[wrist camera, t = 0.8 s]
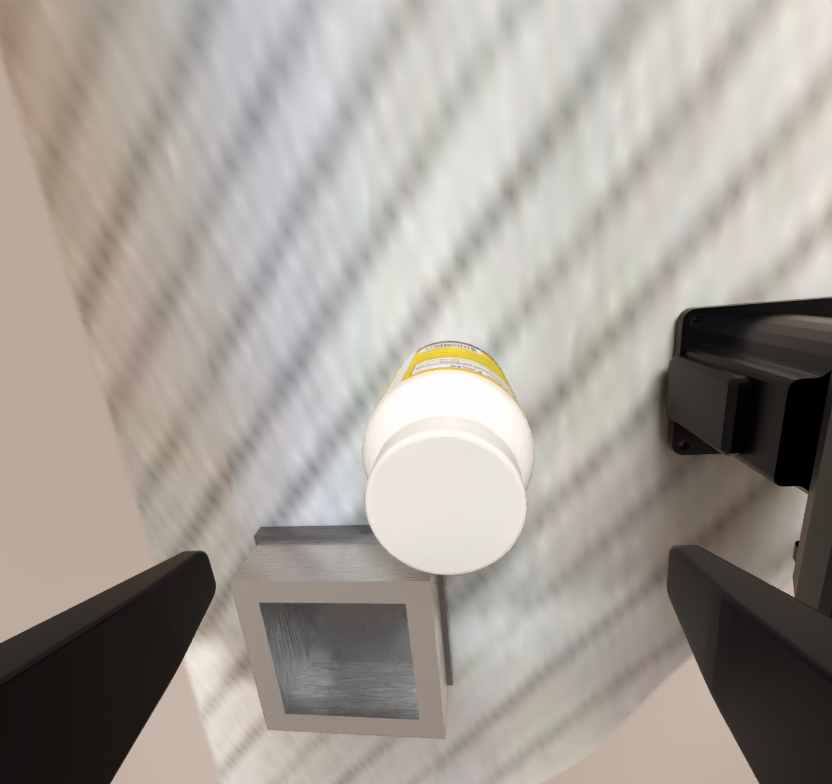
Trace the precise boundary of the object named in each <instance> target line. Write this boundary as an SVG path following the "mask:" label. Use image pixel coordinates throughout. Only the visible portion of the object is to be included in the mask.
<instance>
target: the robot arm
mask: <svg viewBox="0 0 832 784" xmlns="http://www.w3.org/2000/svg"><path fill="white" fill-rule="evenodd" d="M693 315H696V316H697V321H696V323H695V324H694V325H690V324H689V320H690V318H691V317H692V316H693ZM666 415H667V416H668V417H669V418H670V420H669V433H668V446H669V447H670V449H672V450H673V451H674V452H675V453H677V454H680V455H697V454H724V455H732V456H734V457H735V458H737V459H738V460H740V461H741V462H743V463H744V464H746V465H748V466H749V467H751V468H752V469H754V470H755V471H757V472H758V473H760V474H761V475H763V476H764V477H766V478H767V479H769V480H771V481H772V482H774V483H775V484H777V485H779V486H796V487H797V488H799V489H800V490H802V491H804V492H805V493H807V494H808V498H807V504H806V509H805V514H804V519H803V525H802V530H801V535H800V541H796V542H795V546H794V551H793V559H794V561H795V567H794V572H793V585H794V594H795V598H794V597H792V596H790V595H789V594H787V593H785V592H783V591H781V590H779V589H777V588H776V587H774V586H772V585H770V584H768V583H766V582H765V581H763V580H761V579H759V578H757V577H755V576H753V575H752V574H750V573H748V572H746V571H744V570H742V569H740V568H739V567H737V566H735V565H733V564H731V563H729V562H727V561H726V560H724V559H722V558H720V557H718V556H716V555H714V554H713V553H711V552H709V551H707V550H705V549H703V548H701V547H699V546H696V545H675V546H673V547H672V548H671V549H670V551H669V559H668V574H667V591H668V595H669V598H670V601H671V603H672V606H673V608H674V610H675V613H676V615H677V617H678V620H679V622H680V624H681V627H682V629H683V631H684V634H685V636H686V638H687V640H688V643H689V645H690V647H691V650H692V652H693V654H694V657H695V659H696V661H697V663H698V666H699V668H700V671H701V673H702V675H703V678H704V680H705V682H706V684H707V686H708V688H709V691H710V693H711V695H712V697H713V699H714V700H715V703H716V705H717V707H718V709H719V710H720V712H721V714H722V716H723V718H724V720H725V721H726V723H727V725H728V727H729V729H730V731H731V732H732V734H733V736H734V738H735V740H736V742H737V744H738V745H739V747H740V749H741V751H742V753H743V755H744V756H745V758H746V760H747V762H748V764H749V766H750V767H751V769H752V771H753V773H754V775H755V777H756V778H757V780H758V782H759V784H832V297H820V298H807V299H794V300H782V301H769V302H757V303H744V304H731V305H719V306H706V307H693V308H688V309H686V310H684V311H683V312H682V313H681V314H680V315H679V318H678V322H677V335H676V347H675V356H674V357H673V359H672V360H671V361H670V366H669V379H668V391H667V404H666ZM684 439H685V444H684V445H682V446H678V443H679V442H680V441H681V440H684ZM215 589H216V582H215V579H214V575H213V572H212V568H211V565H210V561H209V558H208V555H207V554H206V553H205V552H204V551H184V552H182V553H180V554H178V555H176V556H174V557H172V558H170V559H168V560H166V561H164V562H162V563H160V564H158V565H156V566H154V567H152V568H150V569H148V570H146V571H144V572H142V573H140V574H138V575H136V576H134V577H132V578H130V579H128V580H126V581H124V582H122V583H120V584H118V585H116V586H114V587H112V588H110V589H108V590H106V591H104V592H102V593H100V594H98V595H96V596H94V597H92V598H90V599H88V600H86V601H84V602H82V603H80V604H78V605H76V606H74V607H72V608H70V609H68V610H66V611H64V612H62V613H60V614H58V615H56V616H54V617H52V618H50V619H48V620H46V621H44V622H42V623H40V624H38V625H36V626H34V627H32V628H30V629H28V630H26V631H24V632H22V633H20V634H18V635H16V636H14V637H12V638H10V639H8V640H6V641H4V642H2V643H0V784H110V783H111V781H112V780H113V778H114V776H115V775H116V773H117V771H118V770H119V768H120V766H121V764H122V763H123V761H124V760H125V758H126V756H127V755H128V753H129V751H130V749H131V748H132V746H133V744H134V743H135V741H136V739H137V738H138V736H139V734H140V733H141V731H142V729H143V728H144V726H145V724H146V723H147V721H148V719H149V718H150V716H151V714H152V712H153V711H154V709H155V707H156V706H157V704H158V702H159V701H160V699H161V697H162V696H163V694H164V692H165V691H166V689H167V687H168V685H169V684H170V682H171V680H172V679H173V677H174V675H175V673H176V671H177V669H178V667H179V666H180V664H181V662H182V660H183V658H184V656H185V654H186V652H187V650H188V648H189V646H190V644H191V642H192V639H193V637H194V635H195V633H196V631H197V629H198V627H199V625H200V623H201V621H202V619H203V617H204V615H205V613H206V611H207V609H208V607H209V605H210V603H211V601H212V599H213V597H214V594H215Z"/></svg>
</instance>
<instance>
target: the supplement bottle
mask: <svg viewBox="0 0 832 784" xmlns="http://www.w3.org/2000/svg"><path fill="white" fill-rule="evenodd" d="M362 458H363V466H364V470H365V474H366V477H367V480H368V481H367V486H366V490H365V509H366V515H367V519H368V522H369V525H370V527H371V529H372V531H373V533H374V535H375V536H376V538H377V539H378V541H379V542H380V543H381V545H382V546H383V547H384V548H385V549H386V550H387V551H388V552H389V553H390V554H391V555H393V556H394V557H395V558H396V559H398V560H400V561H401V562H403V563H404V564H406V565H408V566H410V567H412V568H415V569H417V570H420V571H423V572H427V573H432V574H439V575H459V574H465V573H470V572H474V571H477V570H480V569H482V568H485V567H487V566H489V565H491V564H492V563H494V562H495V561H497V560H498V559H500V558H501V557H502V556H504V555H505V554H506V553H507V552H508V551H509V550H510V549H511V547H512V546H513V545H514V544H515V542H516V541H517V539H518V537H519V535H520V533H521V532H522V529H523V526H524V523H525V518H526V513H527V497H526V492H525V490H526V489H527V487H528V485H529V482H530V479H531V476H532V472H533V466H534V443H533V438H532V434H531V431H530V427H529V424H528V422H527V419H526V417H525V415H524V412H523V411H522V409H521V407H520V405H519V403H518V401H517V399H516V397H515V395H514V393H513V391H512V389H511V387H510V385H509V383H508V381H507V379H506V377H505V375H504V373H503V372H502V370H501V368H500V367H499V365H498V364H497V363H496V362H495V361H494V359H493V358H492V357H490V356H489V355H488V354H487V353H486V352H485V351H483V350H482V349H480V348H478V347H476V346H474V345H472V344H469V343H466V342H462V341H455V340H445V341H438V342H434V343H431V344H428V345H425V346H424V347H422V348H420V349H418V350H417V351H415V352H414V353H413V354H411V355H410V356H409V357H408V358H407V359H406V360H405V362H404V363H403V364H402V366H401V367H400V368H399V369H398V371H397V373H396V374H395V376H394V378H393V379H392V381H391V383H390V384H389V386H388V388H387V389H386V391H385V393H384V395H383V396H382V398H381V399H380V401H379V403H378V404H377V406H376V407H375V409H374V411H373V413H372V415H371V417H370V419H369V421H368V424H367V427H366V429H365V433H364V438H363V445H362Z"/></svg>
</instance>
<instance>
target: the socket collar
mask: <svg viewBox="0 0 832 784" xmlns="http://www.w3.org/2000/svg"><path fill="white" fill-rule="evenodd" d="M254 538H255V542H256V547H255V548H254V550H253V551H252V552H251V554H250V555H249V556H248V558H247V559H246V560H245V562H244V563H243V564H242V566H241V567H240V568H239V569H238V571H237V572H236V573H235V575H234V576H233V577H232V579H231V580H230V585H231V588H232V592H233V596H234V600H235V604H236V608H237V612H238V616H239V620H240V624H241V628H242V632H243V635H244V639H245V643H246V647H247V651H248V655H249V659H250V663H251V667H252V671H253V675H254V679H255V682H256V686H257V690H258V694H259V698H260V702H261V706H262V710H263V714H264V718H265V722H266V726H267V729H268V730H282V731H301V732H321V733H341V734H360V735H380V736H399V737H419V738H438V739H445V735H446V704H447V685H453V665H452V653H451V641H450V629H449V618H448V606H447V594H446V582H445V575H439V574H432V573H427V572H423V571H420V570H417V569H415V568H412V567H410V566H408V565H406V564H404V563H403V562H401V561H400V560H398V559H396V558H395V557H394V556H393V555H391V554H390V553H389V552H388V551H387V550H386V549H385V548H384V547H383V546H382V545H381V543H380V542H379V541H378V539H377V538H376V536H375V535H374V533H373V531H372V529H371V527H370V525H357V526H297V527H261V528H260V529H259V530H258V532H257V533H256V534H255V535H254Z"/></svg>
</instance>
